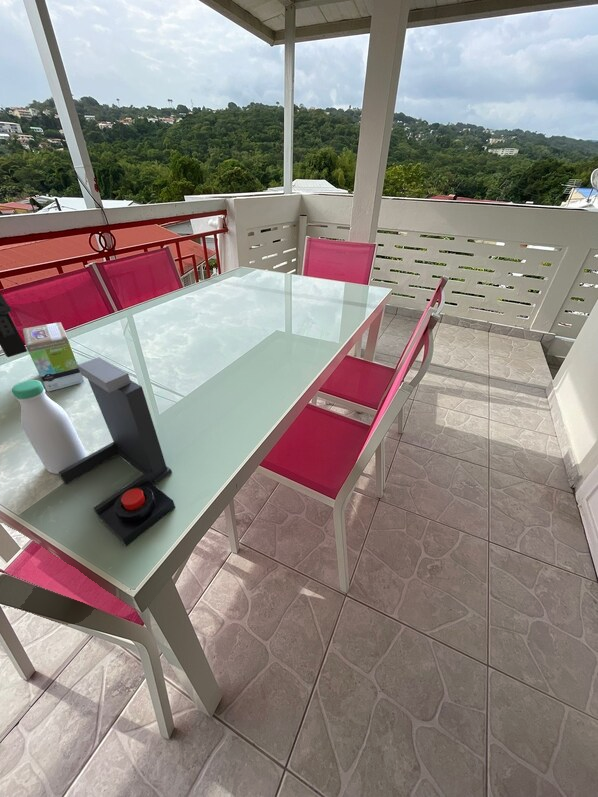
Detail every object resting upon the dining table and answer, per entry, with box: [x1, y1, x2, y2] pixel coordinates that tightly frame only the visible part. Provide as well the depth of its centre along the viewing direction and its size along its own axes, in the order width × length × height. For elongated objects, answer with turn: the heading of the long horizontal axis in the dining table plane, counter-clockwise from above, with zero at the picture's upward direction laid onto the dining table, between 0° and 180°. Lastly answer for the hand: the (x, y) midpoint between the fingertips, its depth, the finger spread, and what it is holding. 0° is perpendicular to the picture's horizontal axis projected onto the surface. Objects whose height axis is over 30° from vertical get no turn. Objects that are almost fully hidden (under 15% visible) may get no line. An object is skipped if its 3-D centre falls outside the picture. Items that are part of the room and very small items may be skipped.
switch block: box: [99, 481, 176, 547], centre depth 61 cm, size 10×8×4 cm
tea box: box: [22, 321, 85, 392], centre depth 98 cm, size 15×10×15 cm
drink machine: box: [58, 356, 173, 521], centre depth 62 cm, size 15×16×24 cm
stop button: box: [121, 488, 145, 511], centre depth 59 cm, size 4×4×2 cm
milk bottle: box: [11, 379, 87, 475], centre depth 67 cm, size 8×8×20 cm
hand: (1, 342), depth 56 cm, fingers open, 13 cm apart
